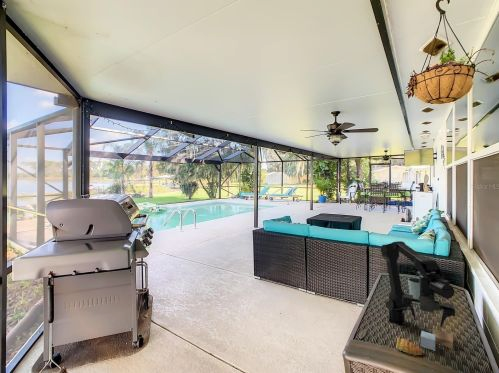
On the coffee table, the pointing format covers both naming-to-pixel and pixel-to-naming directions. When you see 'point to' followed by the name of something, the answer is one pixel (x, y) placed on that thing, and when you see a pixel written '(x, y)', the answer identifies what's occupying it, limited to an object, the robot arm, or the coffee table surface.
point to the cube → (428, 340)
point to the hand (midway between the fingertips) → (427, 323)
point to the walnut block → (443, 338)
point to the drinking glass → (414, 287)
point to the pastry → (408, 347)
